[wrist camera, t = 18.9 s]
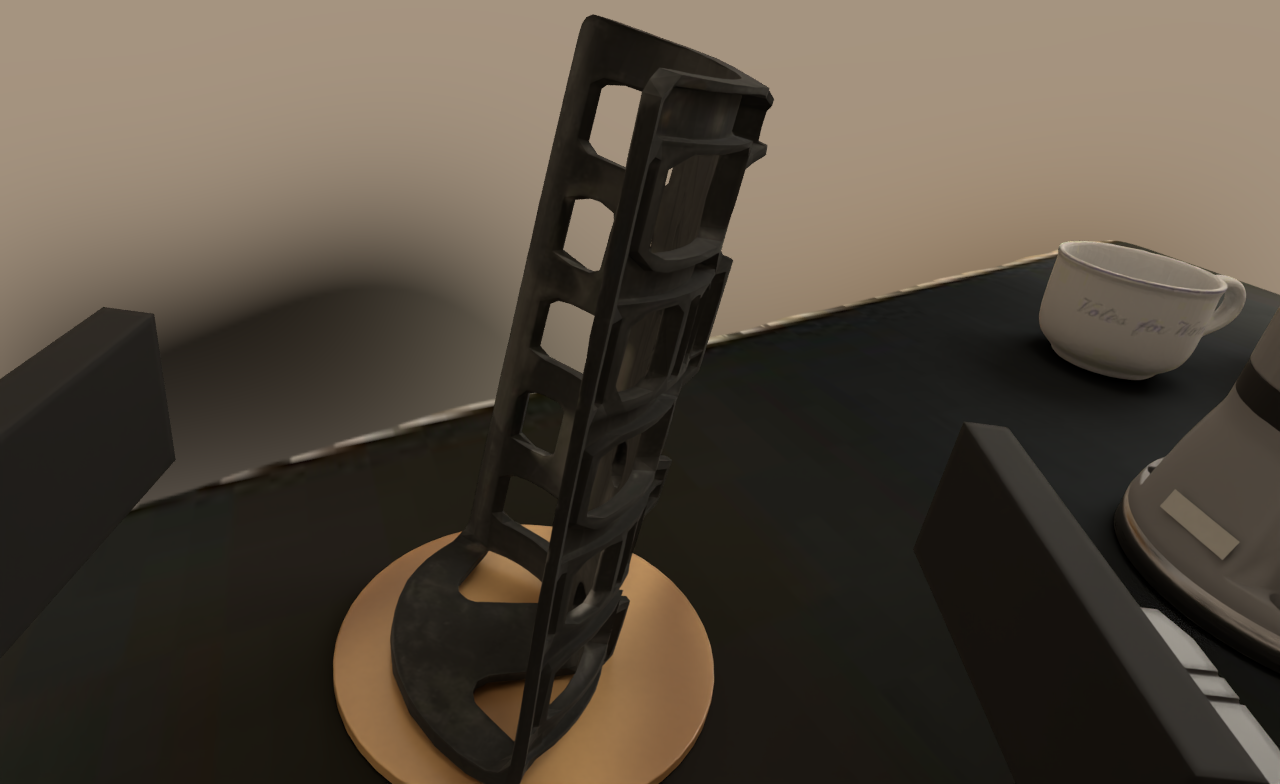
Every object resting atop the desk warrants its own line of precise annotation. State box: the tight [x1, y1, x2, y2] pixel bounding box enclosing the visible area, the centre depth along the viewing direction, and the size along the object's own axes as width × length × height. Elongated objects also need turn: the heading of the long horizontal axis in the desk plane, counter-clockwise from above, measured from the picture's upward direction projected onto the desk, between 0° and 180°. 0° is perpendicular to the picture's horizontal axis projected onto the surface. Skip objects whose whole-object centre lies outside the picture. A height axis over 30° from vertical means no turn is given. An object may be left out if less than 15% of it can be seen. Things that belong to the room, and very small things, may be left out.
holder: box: [390, 15, 774, 784], centre depth 24 cm, size 11×8×20 cm
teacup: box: [1039, 241, 1246, 380], centre depth 60 cm, size 14×11×8 cm
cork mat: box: [333, 525, 714, 784], centre depth 29 cm, size 13×13×1 cm
